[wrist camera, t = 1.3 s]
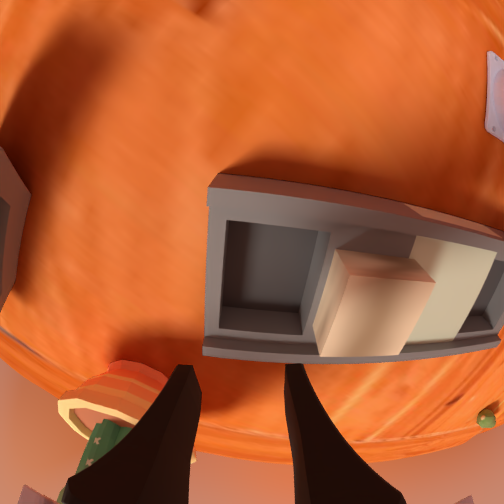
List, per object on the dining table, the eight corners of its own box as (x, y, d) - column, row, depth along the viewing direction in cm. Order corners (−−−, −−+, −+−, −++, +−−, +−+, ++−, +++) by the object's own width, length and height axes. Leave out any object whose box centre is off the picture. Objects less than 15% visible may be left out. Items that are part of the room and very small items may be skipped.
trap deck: (522, 238, 18) (544, 254, 15) (481, 326, 24) (496, 346, 20) (218, 173, 17) (208, 187, 13) (209, 320, 22) (202, 355, 19)
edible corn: (496, 414, 32) (483, 430, 33) (500, 420, 38) (490, 433, 39) (483, 403, 37) (471, 418, 37) (490, 412, 43) (481, 424, 44)
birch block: (414, 259, 16) (436, 282, 13) (384, 327, 19) (398, 355, 16) (335, 248, 16) (349, 275, 13) (312, 325, 19) (319, 356, 16)
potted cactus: (219, 365, 25) (194, 616, 3) (195, 427, 32) (176, 583, 9) (75, 318, 23) (-24, 523, 1) (91, 393, 30) (42, 537, 7)
